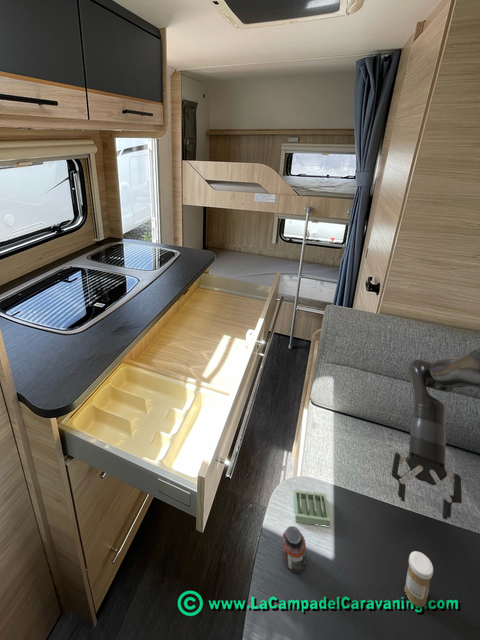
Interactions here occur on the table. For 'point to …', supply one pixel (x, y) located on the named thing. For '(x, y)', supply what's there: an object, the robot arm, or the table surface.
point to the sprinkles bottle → (418, 578)
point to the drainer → (311, 509)
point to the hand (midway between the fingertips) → (423, 509)
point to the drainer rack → (313, 504)
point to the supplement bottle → (294, 549)
